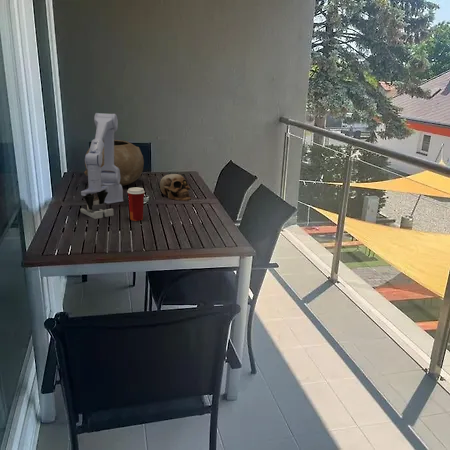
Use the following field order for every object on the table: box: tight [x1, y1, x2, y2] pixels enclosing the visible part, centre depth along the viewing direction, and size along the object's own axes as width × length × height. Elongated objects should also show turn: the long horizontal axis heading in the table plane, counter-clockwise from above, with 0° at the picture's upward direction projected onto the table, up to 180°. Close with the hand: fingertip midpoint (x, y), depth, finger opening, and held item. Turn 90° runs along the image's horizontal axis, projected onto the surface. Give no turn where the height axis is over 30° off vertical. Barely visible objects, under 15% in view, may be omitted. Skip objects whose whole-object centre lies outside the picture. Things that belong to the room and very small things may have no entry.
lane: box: [80, 208, 114, 220], centre depth 209 cm, size 9×14×3 cm
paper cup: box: [126, 187, 146, 222], centre depth 202 cm, size 8×8×14 cm
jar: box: [86, 195, 99, 213], centre depth 210 cm, size 6×6×7 cm
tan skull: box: [159, 173, 192, 202], centre depth 243 cm, size 16×17×13 cm
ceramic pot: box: [83, 139, 145, 187], centre depth 263 cm, size 33×34×25 cm
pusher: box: [92, 203, 108, 215], centre depth 205 cm, size 6×7×5 cm
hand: (96, 208), depth 209 cm, fingers open, 6 cm apart
